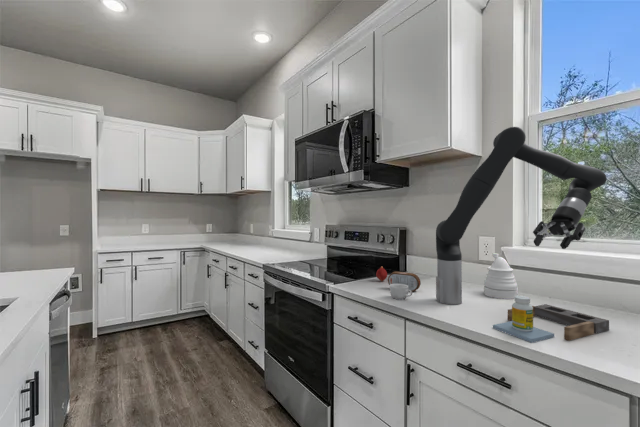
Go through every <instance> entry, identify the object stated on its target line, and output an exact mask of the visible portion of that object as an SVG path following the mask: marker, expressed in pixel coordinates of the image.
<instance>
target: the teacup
mask: <svg viewBox="0 0 640 427" xmlns="http://www.w3.org/2000/svg"><path fill="white" fill-rule="evenodd" d="M389 293H390V297H391V298H393V299H394V300H397V301H399V300H401V301H402V300H405V299H406V298H407V297H411V296H413V293H412V291H411V290H408V285H404V284H391V285H389ZM409 293H410V294H409Z"/></svg>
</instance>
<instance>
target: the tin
mask: <svg viewBox="0 0 640 427" xmlns="http://www.w3.org/2000/svg"><path fill="white" fill-rule="evenodd" d="M387 282H388V285H389V286H390V285H391V284H404V285H408V290H411V291H412V292H416V291H417V290H418V289H420V286H421V284H422V283H421V279H420V277H419V276H418V275H417V274H416V273H413V272H404V271H396V270H395V271H392V272H391V273H390V274H389V275H388V276H387Z"/></svg>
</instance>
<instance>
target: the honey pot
mask: <svg viewBox="0 0 640 427" xmlns="http://www.w3.org/2000/svg"><path fill="white" fill-rule="evenodd" d="M492 257H493V258H494V260H493V262H492V263H491V265H490V266H487V267H486V270H487V271H488V272H487V273H486V277H485V280H484V281H483V285H484V286H483V293H484V294H483V295H485V296H488V297H490V298H496V299H502V300H514V298H515V296H519V295H518V294H519V290H518V289H519V288H518V286H519V285H518V283H517V280H516V276H515V275H514V273H513V272H514V269H513V268H512V267H511V266H510V264H509V263H508V261H507V260H506V259H505V258H504V257H502V256H500V253H495V252H494V253H492Z"/></svg>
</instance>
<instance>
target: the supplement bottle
mask: <svg viewBox="0 0 640 427" xmlns="http://www.w3.org/2000/svg"><path fill="white" fill-rule="evenodd" d="M513 300H514V302H513V303H512V304H511V309H512V326H513V328H514V329H516V330H519V331H523V332H531V331H533V327H534V317H533V307H532V306H533V305H532V304H531V298H530V297H528V296H525V295H518V296H515V298H514V299H513Z"/></svg>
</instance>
